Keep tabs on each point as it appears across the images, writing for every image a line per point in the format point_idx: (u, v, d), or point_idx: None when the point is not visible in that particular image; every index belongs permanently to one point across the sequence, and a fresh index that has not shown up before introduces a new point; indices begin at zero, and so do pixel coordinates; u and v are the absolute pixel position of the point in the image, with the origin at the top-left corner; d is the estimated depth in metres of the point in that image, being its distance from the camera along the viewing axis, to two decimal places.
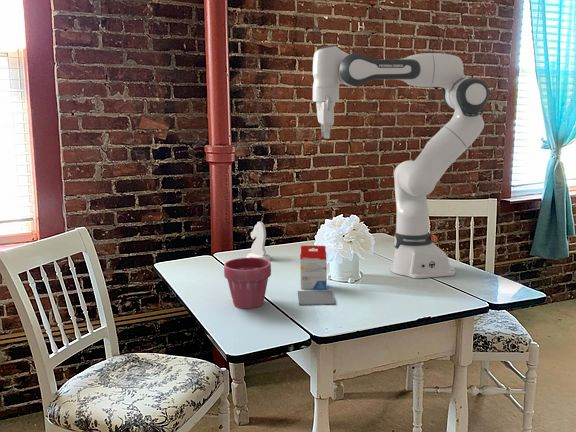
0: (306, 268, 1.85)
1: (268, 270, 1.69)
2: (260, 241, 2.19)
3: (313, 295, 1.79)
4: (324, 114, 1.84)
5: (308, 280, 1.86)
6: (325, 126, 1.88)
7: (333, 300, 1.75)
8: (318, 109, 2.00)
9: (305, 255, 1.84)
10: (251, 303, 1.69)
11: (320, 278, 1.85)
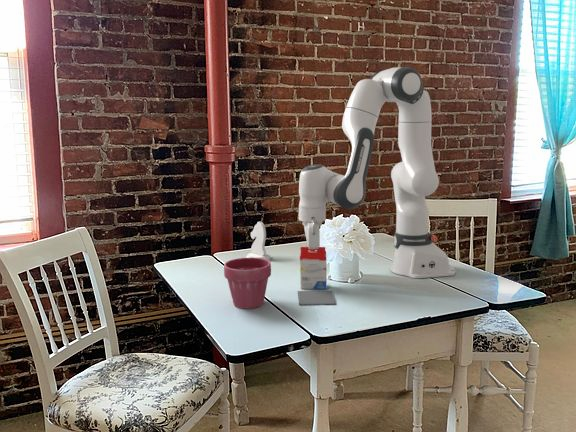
0: (306, 268, 1.84)
1: (268, 270, 1.69)
2: (260, 241, 2.19)
3: (313, 295, 1.79)
4: (309, 238, 1.78)
5: (308, 281, 1.86)
6: None
7: (333, 300, 1.75)
8: None
9: (305, 256, 1.83)
10: (251, 303, 1.69)
11: (320, 278, 1.85)
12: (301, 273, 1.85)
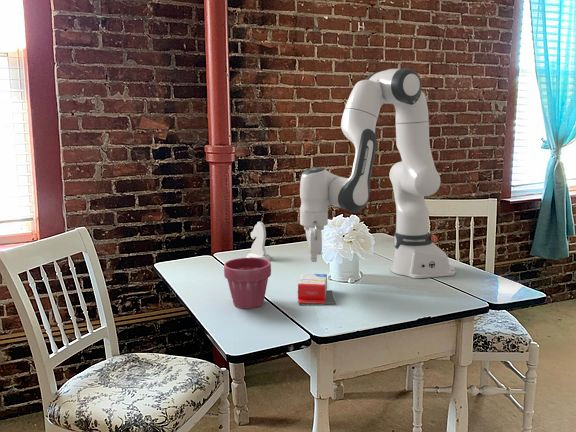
0: None
1: (268, 270, 1.69)
2: (260, 241, 2.19)
3: None
4: (311, 244, 1.73)
5: None
6: None
7: (333, 300, 1.75)
8: None
9: None
10: (251, 303, 1.69)
11: None
12: None
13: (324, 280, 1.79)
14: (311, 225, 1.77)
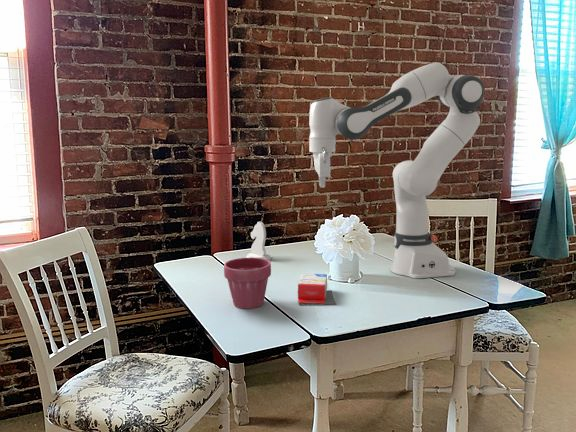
0: None
1: (268, 270, 1.69)
2: (260, 241, 2.19)
3: None
4: (320, 167, 1.85)
5: None
6: None
7: (333, 300, 1.75)
8: (315, 157, 2.02)
9: None
10: (251, 303, 1.69)
11: None
12: None
13: (324, 280, 1.79)
14: (320, 151, 1.90)
